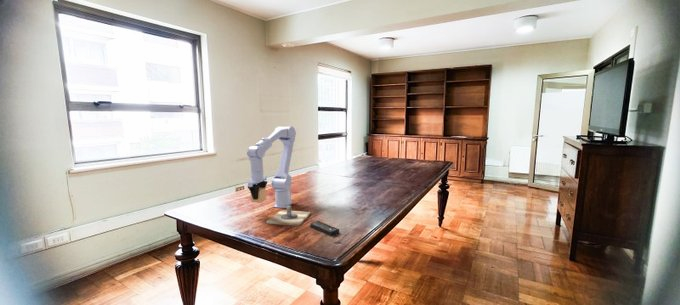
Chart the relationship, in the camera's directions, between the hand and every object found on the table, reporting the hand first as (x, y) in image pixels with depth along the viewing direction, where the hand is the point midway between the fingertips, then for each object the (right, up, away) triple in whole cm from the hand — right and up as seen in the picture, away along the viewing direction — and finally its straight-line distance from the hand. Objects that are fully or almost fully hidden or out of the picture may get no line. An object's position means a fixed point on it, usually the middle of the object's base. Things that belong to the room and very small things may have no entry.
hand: (258, 197), depth 141 cm
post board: (+16, -10, -3) cm, 19 cm away
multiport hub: (+33, -12, -17) cm, 40 cm away
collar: (0, -2, 0) cm, 2 cm away
